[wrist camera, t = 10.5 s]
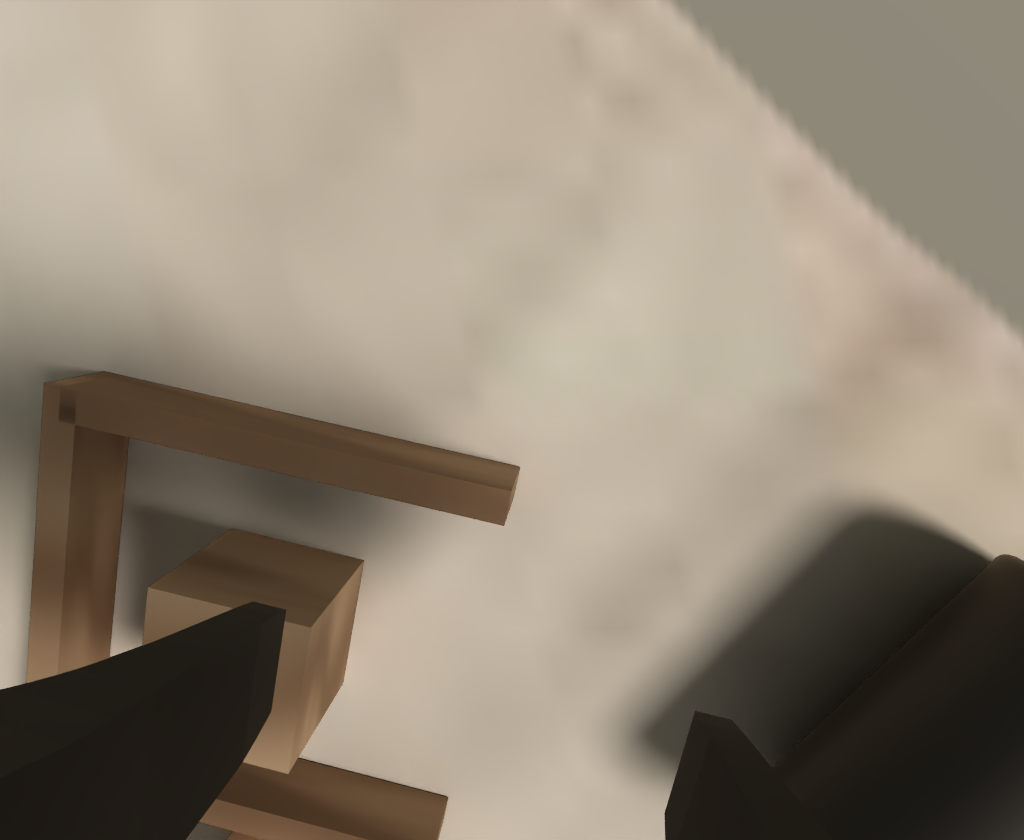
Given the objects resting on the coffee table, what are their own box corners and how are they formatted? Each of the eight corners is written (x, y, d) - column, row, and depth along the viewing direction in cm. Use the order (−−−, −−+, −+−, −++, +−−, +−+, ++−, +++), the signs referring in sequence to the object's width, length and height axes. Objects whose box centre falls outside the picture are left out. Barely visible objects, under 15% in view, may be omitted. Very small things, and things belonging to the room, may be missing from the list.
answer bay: (442, 821, 24) (426, 883, 22) (76, 725, 25) (20, 773, 22) (520, 466, 21) (511, 491, 19) (104, 371, 22) (43, 383, 20)
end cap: (950, 512, 20) (1127, 625, 14) (1134, 659, 20) (1394, 840, 14) (718, 739, 22) (773, 932, 16) (887, 869, 23) (1010, 1112, 16)
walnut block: (344, 681, 23) (287, 773, 19) (217, 649, 24) (133, 733, 19) (364, 559, 22) (310, 627, 18) (232, 527, 23) (147, 587, 18)
